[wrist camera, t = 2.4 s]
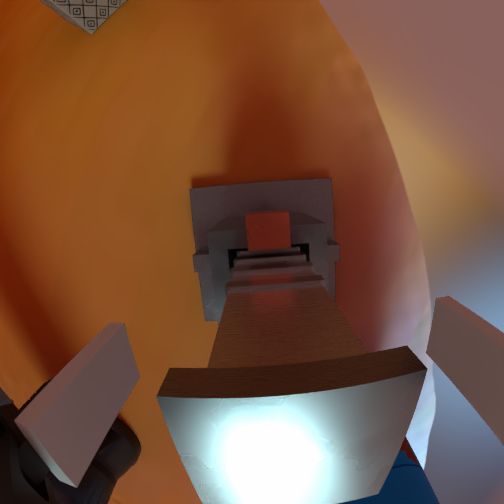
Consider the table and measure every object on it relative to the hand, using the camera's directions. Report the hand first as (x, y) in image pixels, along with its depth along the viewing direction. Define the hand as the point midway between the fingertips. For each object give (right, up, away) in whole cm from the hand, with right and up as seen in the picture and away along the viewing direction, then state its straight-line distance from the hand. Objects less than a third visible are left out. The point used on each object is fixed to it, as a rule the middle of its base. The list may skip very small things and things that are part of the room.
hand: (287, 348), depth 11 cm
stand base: (0, +4, +19) cm, 19 cm away
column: (0, +3, +17) cm, 17 cm away
